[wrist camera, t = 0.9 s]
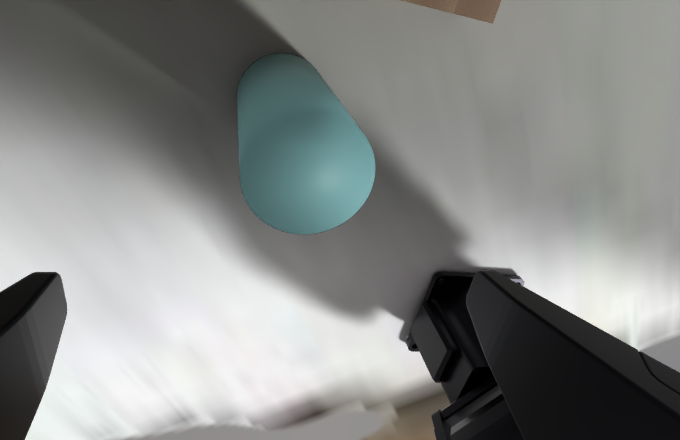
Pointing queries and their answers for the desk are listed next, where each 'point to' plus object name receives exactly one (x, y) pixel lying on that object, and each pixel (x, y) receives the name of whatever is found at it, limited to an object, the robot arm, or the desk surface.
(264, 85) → the teal rounded cylinder
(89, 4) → the desk surface
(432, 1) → the socket block
